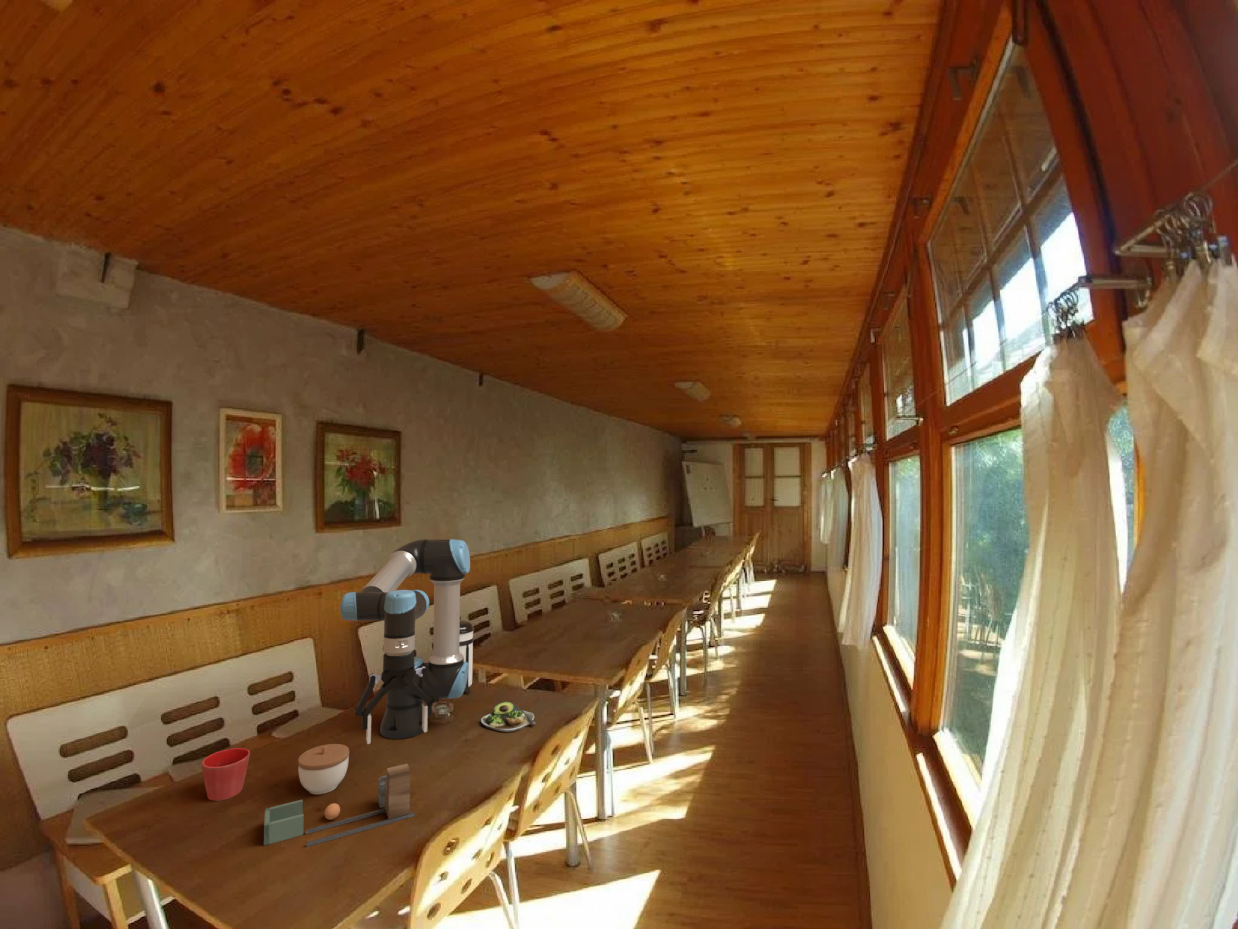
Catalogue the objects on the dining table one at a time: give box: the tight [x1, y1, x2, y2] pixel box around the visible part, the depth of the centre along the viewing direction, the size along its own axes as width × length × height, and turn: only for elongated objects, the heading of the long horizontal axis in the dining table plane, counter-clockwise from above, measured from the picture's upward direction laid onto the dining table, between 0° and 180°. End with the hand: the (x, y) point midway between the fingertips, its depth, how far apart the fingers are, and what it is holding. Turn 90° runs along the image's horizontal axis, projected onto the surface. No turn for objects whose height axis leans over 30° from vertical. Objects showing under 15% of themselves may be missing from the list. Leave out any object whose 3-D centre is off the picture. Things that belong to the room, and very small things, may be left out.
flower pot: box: [201, 747, 251, 802], centre depth 153 cm, size 11×11×10 cm
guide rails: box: [305, 807, 415, 848], centre depth 140 cm, size 6×24×1 cm, turn 121°
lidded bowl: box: [297, 743, 350, 795], centre depth 156 cm, size 13×13×11 cm
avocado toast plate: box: [480, 701, 536, 733], centre depth 199 cm, size 19×18×5 cm
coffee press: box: [459, 616, 475, 695], centre depth 228 cm, size 17×16×30 cm
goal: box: [263, 799, 305, 847], centre depth 137 cm, size 8×8×4 cm
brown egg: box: [324, 802, 341, 821], centre depth 142 cm, size 4×4×4 cm
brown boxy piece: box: [377, 763, 411, 819], centre depth 146 cm, size 10×6×11 cm, turn 31°
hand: (397, 736), depth 145 cm, fingers open, 13 cm apart
